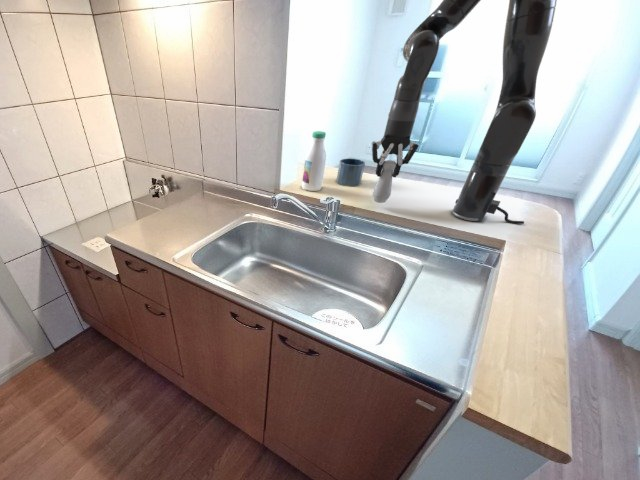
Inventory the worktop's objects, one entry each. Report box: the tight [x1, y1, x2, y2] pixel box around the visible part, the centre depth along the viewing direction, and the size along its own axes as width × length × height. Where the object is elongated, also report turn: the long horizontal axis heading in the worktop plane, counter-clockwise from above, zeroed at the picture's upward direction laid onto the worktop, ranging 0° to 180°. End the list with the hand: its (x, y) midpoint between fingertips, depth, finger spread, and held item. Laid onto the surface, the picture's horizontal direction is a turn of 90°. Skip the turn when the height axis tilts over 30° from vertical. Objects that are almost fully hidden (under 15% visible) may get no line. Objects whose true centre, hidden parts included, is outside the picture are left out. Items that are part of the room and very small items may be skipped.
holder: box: [336, 158, 366, 187], centre depth 130 cm, size 10×10×8 cm
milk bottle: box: [301, 130, 327, 192], centre depth 121 cm, size 8×8×20 cm
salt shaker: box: [372, 159, 397, 204], centre depth 107 cm, size 6×6×13 cm
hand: (386, 176), depth 106 cm, fingers closed on salt shaker, 4 cm apart
